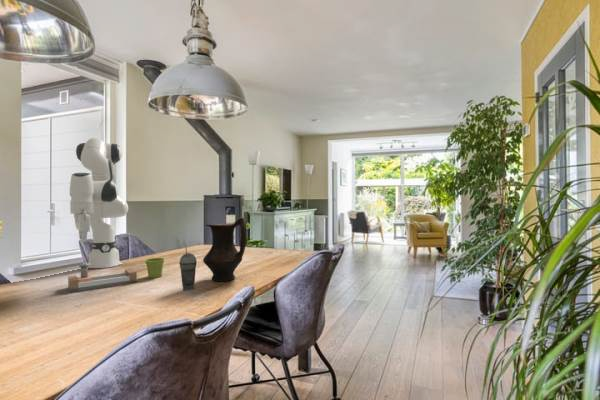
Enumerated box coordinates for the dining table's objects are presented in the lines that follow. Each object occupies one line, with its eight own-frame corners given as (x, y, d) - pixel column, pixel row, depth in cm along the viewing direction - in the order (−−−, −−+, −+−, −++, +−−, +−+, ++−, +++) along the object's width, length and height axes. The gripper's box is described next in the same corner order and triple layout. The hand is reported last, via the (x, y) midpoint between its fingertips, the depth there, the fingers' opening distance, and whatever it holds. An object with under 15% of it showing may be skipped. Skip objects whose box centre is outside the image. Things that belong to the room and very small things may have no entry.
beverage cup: (191, 292, 144) (191, 244, 144) (176, 291, 145) (175, 244, 145) (200, 287, 151) (199, 242, 151) (185, 286, 152) (184, 241, 152)
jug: (195, 283, 158) (194, 218, 157) (213, 274, 176) (212, 216, 176) (239, 285, 154) (238, 218, 154) (252, 275, 172) (251, 216, 172)
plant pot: (151, 279, 166) (150, 262, 165) (141, 277, 171) (140, 259, 171) (168, 276, 173) (168, 259, 173) (158, 273, 179) (158, 257, 179)
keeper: (77, 283, 153) (76, 263, 153) (90, 281, 156) (89, 262, 156) (78, 286, 148) (78, 266, 148) (91, 284, 151) (91, 264, 151)
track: (68, 287, 153) (68, 276, 153) (132, 278, 168) (131, 268, 168) (69, 292, 145) (69, 280, 145) (136, 282, 161) (136, 271, 160)
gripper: (93, 210, 145) (94, 242, 146) (88, 208, 161) (88, 237, 162) (75, 210, 141) (76, 244, 142) (72, 208, 158) (72, 238, 158)
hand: (83, 240), depth 152 cm, fingers open, 8 cm apart
